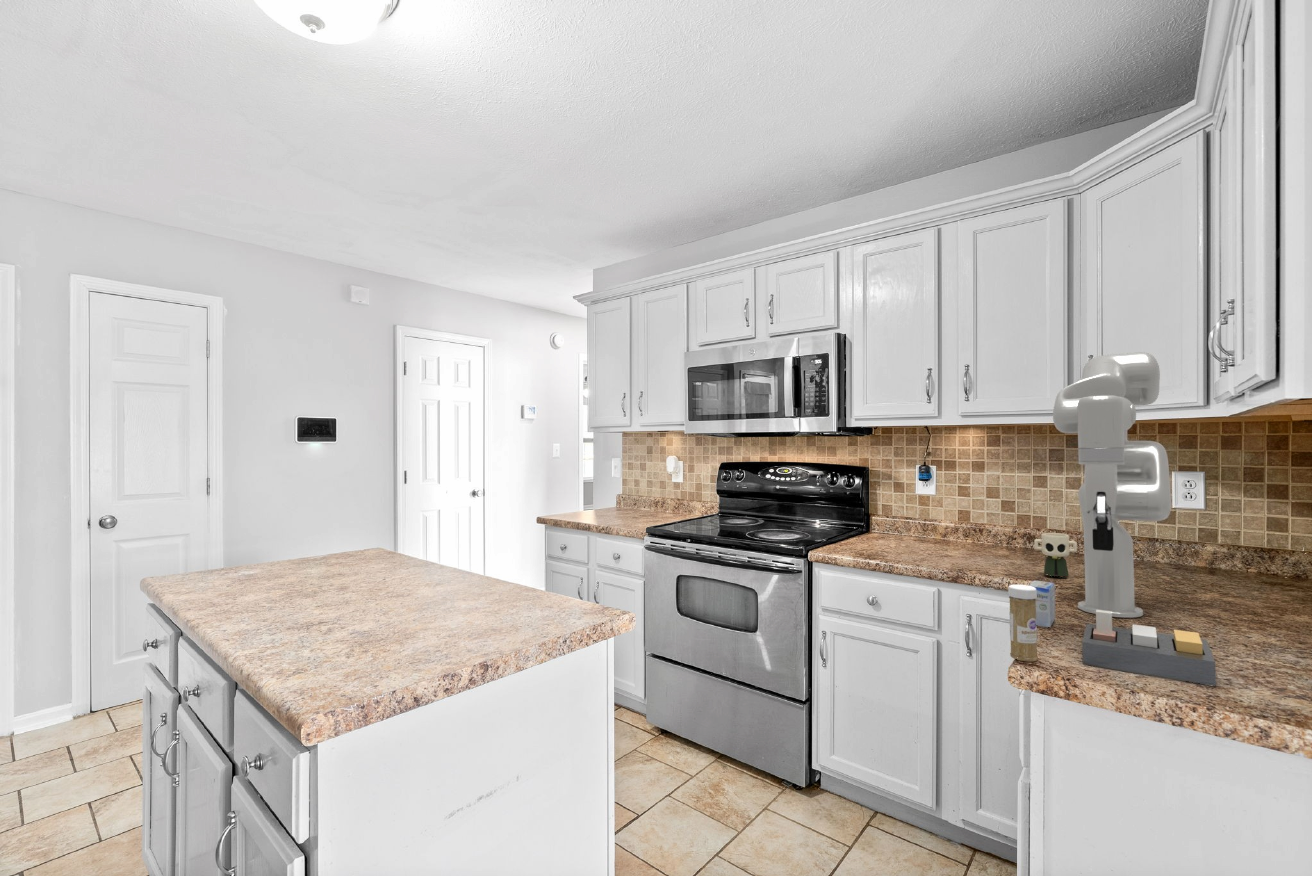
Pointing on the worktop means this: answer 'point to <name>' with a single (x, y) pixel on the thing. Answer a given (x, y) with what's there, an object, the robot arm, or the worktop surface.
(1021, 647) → the sprinkles bottle
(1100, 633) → the slider lever
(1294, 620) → the worktop surface
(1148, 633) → the white button
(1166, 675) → the control panel
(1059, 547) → the character mug
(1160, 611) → the worktop surface
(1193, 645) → the amber button
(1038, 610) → the medicine box
